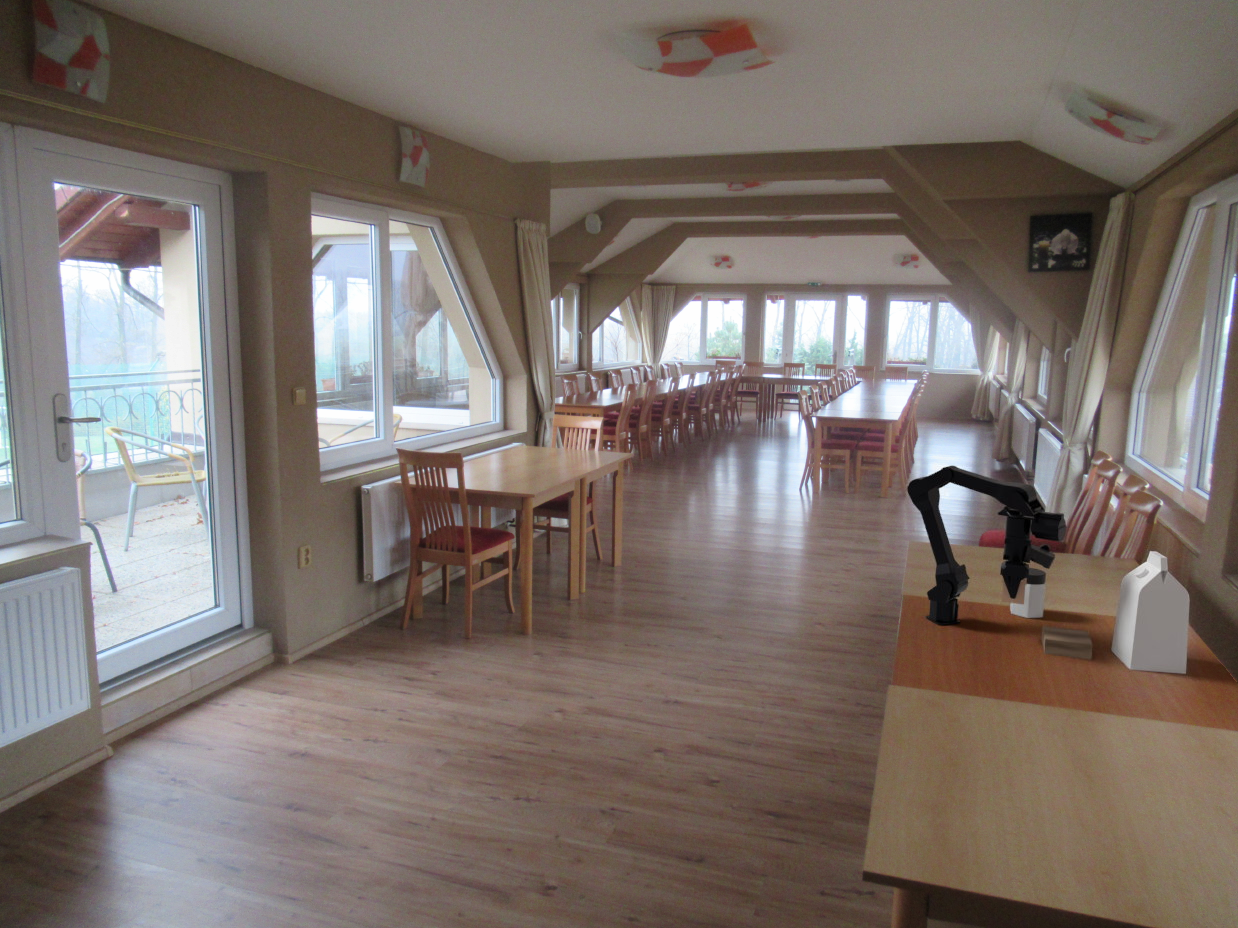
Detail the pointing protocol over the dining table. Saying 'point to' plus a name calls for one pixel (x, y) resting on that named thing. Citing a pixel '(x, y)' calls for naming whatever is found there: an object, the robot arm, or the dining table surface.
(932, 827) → the dining table surface
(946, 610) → the robot arm
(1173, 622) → the milk
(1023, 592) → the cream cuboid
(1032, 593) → the jar
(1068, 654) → the beige block
